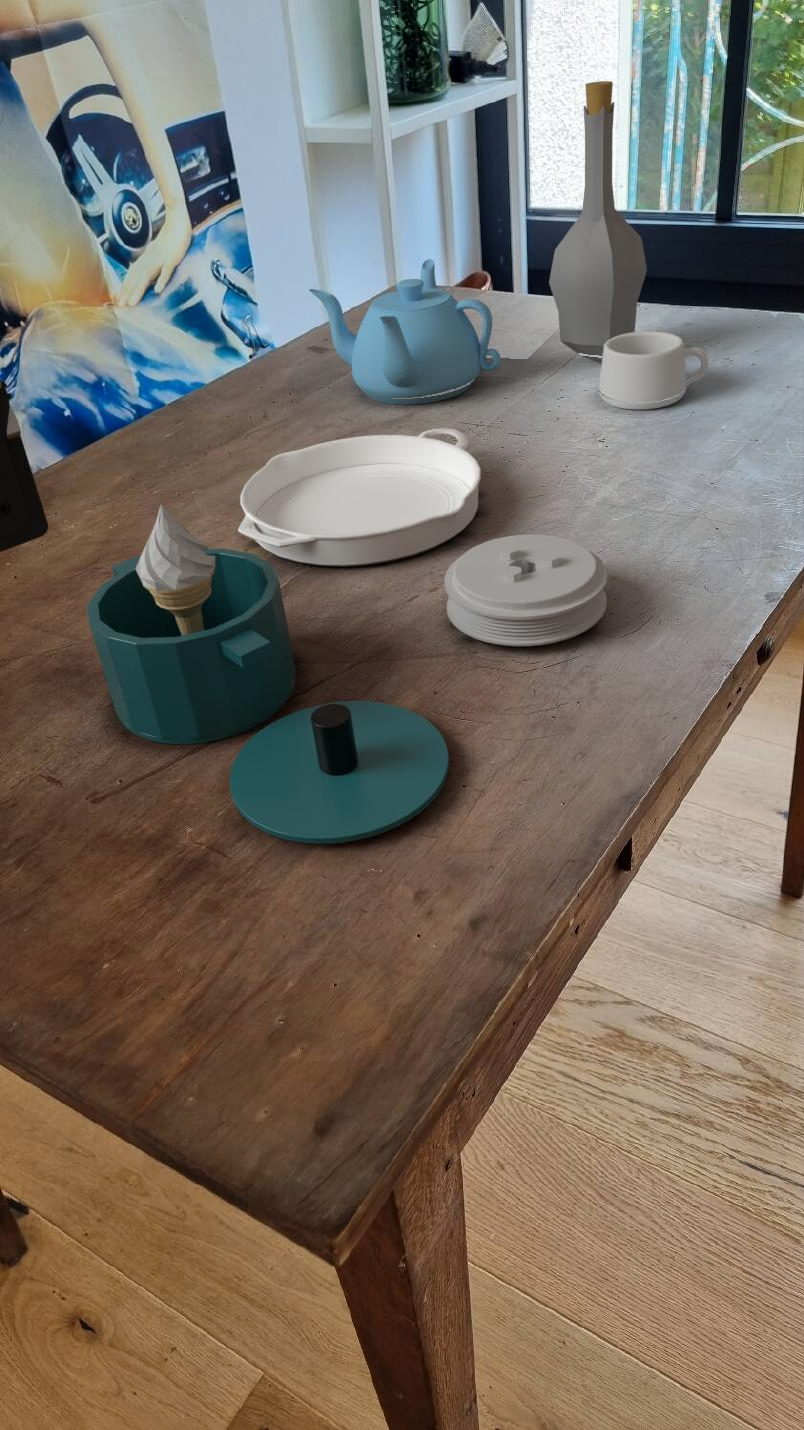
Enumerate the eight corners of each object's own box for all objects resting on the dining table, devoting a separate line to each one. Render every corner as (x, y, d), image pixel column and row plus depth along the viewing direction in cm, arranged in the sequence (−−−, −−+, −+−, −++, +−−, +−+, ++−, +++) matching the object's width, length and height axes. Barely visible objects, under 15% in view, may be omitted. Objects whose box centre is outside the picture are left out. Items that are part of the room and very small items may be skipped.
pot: (191, 786, 75) (163, 682, 70) (72, 679, 87) (41, 585, 83) (352, 702, 81) (336, 601, 76) (218, 613, 94) (198, 522, 89)
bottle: (645, 375, 130) (654, 85, 113) (549, 379, 133) (543, 95, 115) (643, 345, 139) (651, 72, 122) (553, 349, 142) (548, 81, 124)
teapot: (317, 389, 138) (302, 288, 131) (437, 351, 146) (429, 252, 138) (394, 423, 126) (383, 313, 119) (521, 379, 134) (517, 273, 126)
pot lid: (314, 886, 66) (301, 821, 63) (192, 778, 75) (176, 717, 73) (495, 775, 73) (491, 711, 70) (361, 689, 82) (353, 630, 79)
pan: (179, 538, 107) (170, 500, 104) (374, 442, 122) (370, 407, 119) (358, 609, 92) (352, 566, 90) (554, 490, 107) (553, 451, 105)
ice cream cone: (257, 680, 84) (218, 497, 75) (199, 715, 81) (152, 528, 72) (210, 657, 87) (169, 479, 78) (153, 690, 84) (103, 509, 75)
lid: (491, 565, 96) (488, 512, 93) (630, 591, 90) (631, 535, 87) (419, 637, 87) (413, 581, 85) (567, 670, 82) (566, 612, 79)
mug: (604, 415, 121) (604, 361, 118) (594, 385, 129) (594, 333, 126) (715, 406, 121) (719, 350, 117) (698, 376, 128) (701, 324, 125)
